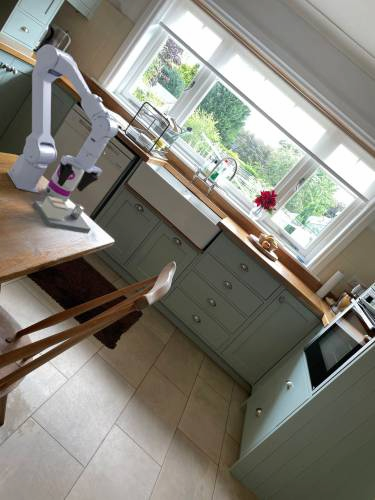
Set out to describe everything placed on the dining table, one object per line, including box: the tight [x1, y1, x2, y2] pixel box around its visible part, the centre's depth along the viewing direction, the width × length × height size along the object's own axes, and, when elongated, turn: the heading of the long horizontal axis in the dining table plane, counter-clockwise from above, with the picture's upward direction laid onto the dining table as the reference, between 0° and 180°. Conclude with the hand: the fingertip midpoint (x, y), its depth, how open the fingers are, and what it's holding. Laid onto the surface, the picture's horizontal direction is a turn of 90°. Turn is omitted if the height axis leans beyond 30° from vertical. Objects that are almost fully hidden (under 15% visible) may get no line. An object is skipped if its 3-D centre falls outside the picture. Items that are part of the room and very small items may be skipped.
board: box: [32, 200, 91, 234], centre depth 124 cm, size 11×16×2 cm
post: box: [70, 203, 85, 220], centre depth 127 cm, size 3×3×4 cm
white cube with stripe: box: [42, 195, 70, 219], centre depth 120 cm, size 5×5×4 cm
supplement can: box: [45, 154, 84, 203], centre depth 133 cm, size 8×8×15 cm
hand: (69, 187), depth 123 cm, fingers open, 7 cm apart
